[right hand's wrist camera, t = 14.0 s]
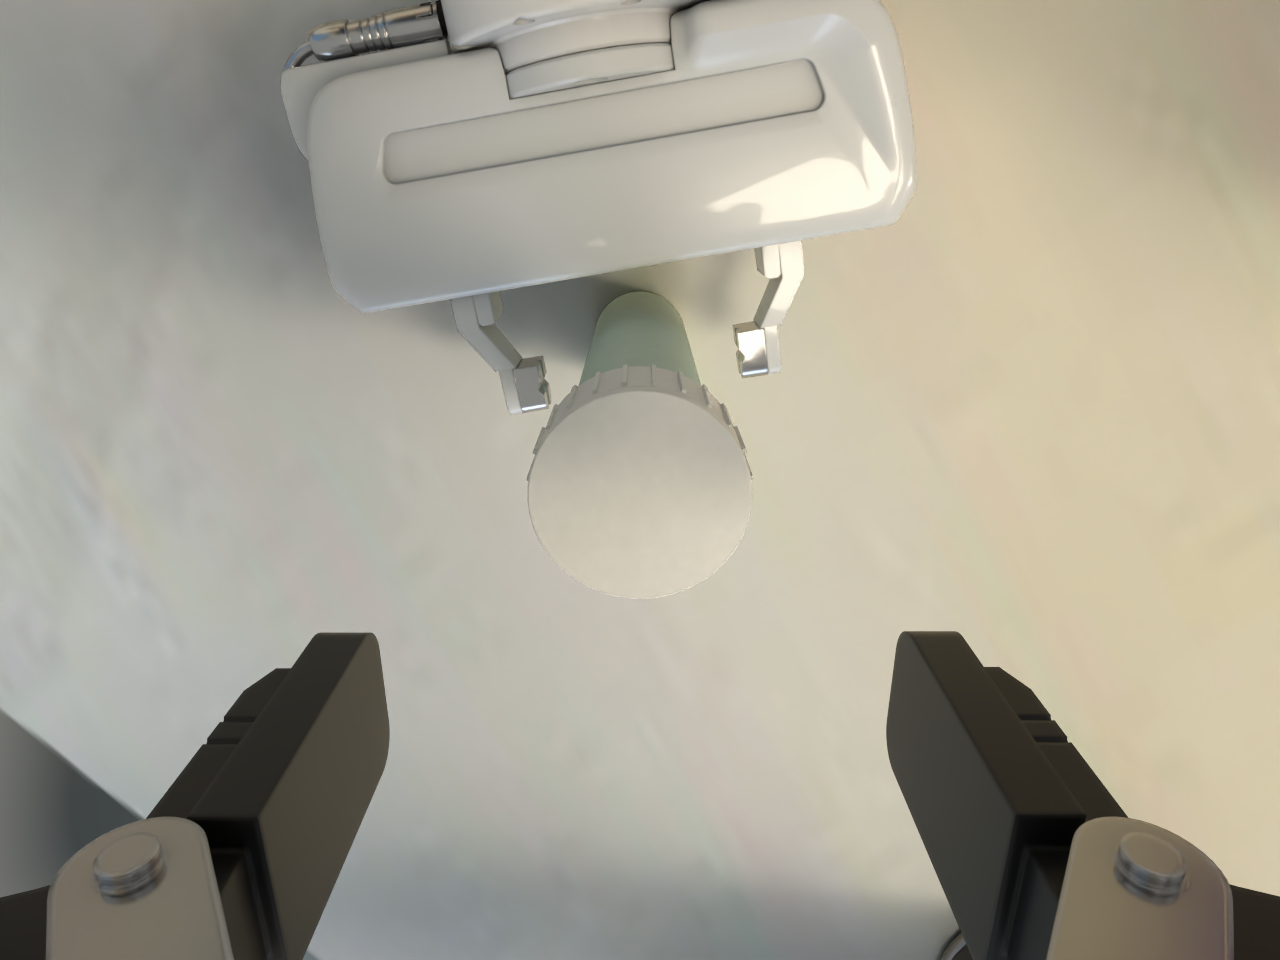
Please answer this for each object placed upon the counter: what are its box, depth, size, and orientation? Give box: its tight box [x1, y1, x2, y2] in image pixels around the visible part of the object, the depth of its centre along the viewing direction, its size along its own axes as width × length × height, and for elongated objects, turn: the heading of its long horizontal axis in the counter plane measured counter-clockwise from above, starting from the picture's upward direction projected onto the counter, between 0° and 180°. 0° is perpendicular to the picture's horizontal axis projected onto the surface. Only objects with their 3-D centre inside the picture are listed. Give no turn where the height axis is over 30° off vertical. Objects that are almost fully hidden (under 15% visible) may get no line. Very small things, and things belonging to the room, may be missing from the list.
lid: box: [527, 364, 753, 599], centre depth 19 cm, size 5×5×2 cm
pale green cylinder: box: [579, 291, 701, 385], centre depth 28 cm, size 4×4×19 cm
